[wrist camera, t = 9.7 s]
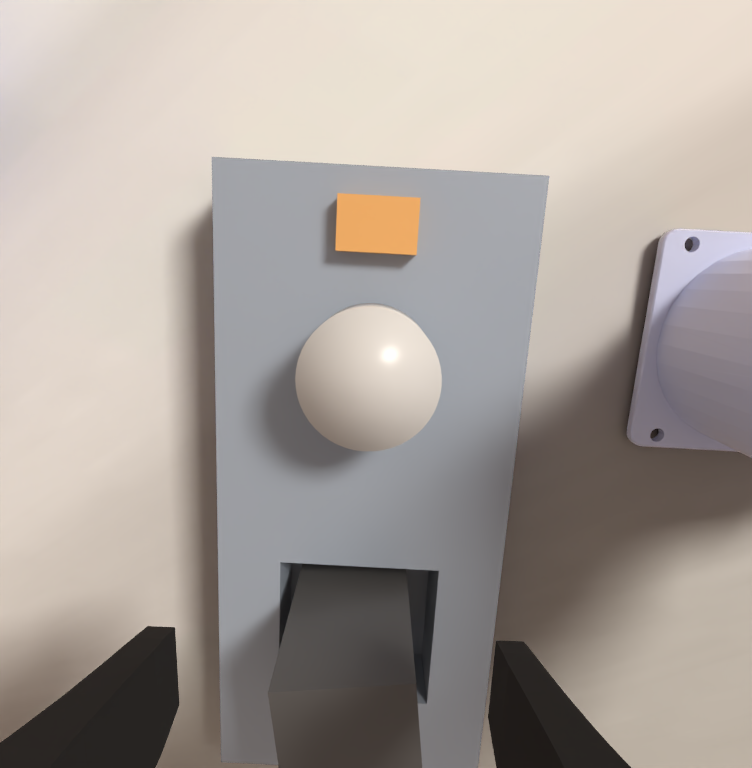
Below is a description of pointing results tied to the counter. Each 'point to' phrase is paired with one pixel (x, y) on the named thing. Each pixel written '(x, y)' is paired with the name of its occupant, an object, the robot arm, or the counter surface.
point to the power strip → (367, 486)
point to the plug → (347, 672)
